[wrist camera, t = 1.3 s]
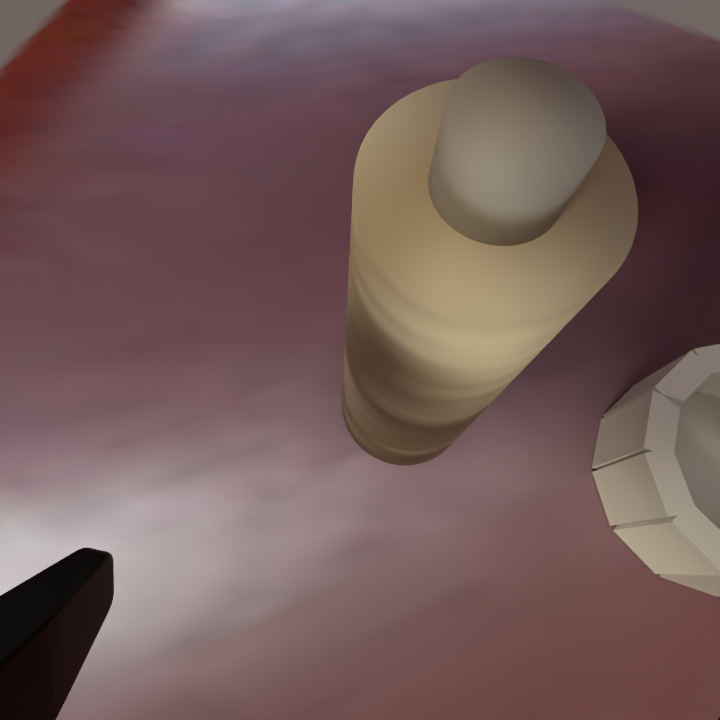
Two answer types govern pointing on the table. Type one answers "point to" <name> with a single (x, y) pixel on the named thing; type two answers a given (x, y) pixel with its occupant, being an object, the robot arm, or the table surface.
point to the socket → (667, 469)
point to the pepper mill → (473, 246)
